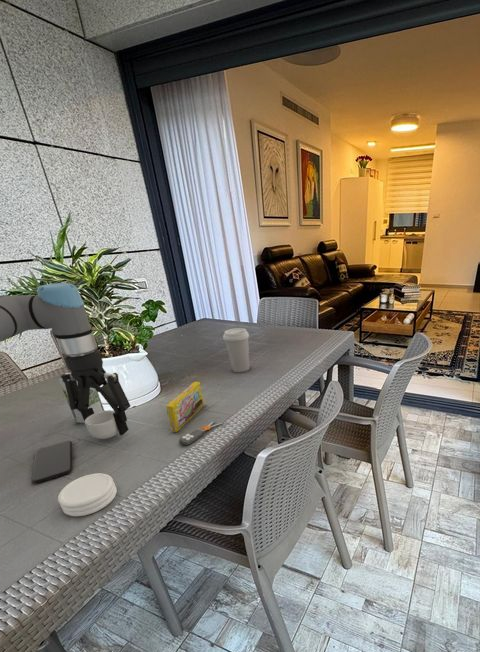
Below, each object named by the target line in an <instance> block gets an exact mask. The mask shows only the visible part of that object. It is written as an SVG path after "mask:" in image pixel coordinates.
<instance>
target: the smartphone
mask: <svg viewBox="0 0 480 652" xmlns="http://www.w3.org/2000/svg"><path fill="white" fill-rule="evenodd" d="M72 471H73V443H72V441H71V440H65V441H62V442H59V443H54V444H51V445H47V446H43V447H41V448H38V449H36V450H35V454H34V463H33V469H32V476H31V483H33V484H39V483H42V482H45V481H49V480H52V479H56V478H58V477H61V476H64V475H67V474H70V473H71V472H72Z"/></svg>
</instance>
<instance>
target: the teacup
mask: <svg viewBox="0 0 480 652" xmlns="http://www.w3.org/2000/svg"><path fill="white" fill-rule="evenodd" d="M114 412H115V411H114V410H113V409H107V410H104V411H100V412H97V413H94V414H92V415H90V416H89V417H87V418H86V419H85V423H84V424H85V426H86V428H87V430H88V432H89V434H90V435H91V436H92V437H93V438H95V439H99V440H107V439H110V438H113V437H115V436H116V435H117V434H119V431H118V428H117V425H116V422H115V419H114V416H113V413H114Z"/></svg>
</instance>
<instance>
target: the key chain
mask: <svg viewBox="0 0 480 652" xmlns="http://www.w3.org/2000/svg"><path fill="white" fill-rule="evenodd" d="M214 423H215V422H214V421H211V422H210V423H208V424H207V425H203V426H202V427H200V428H201V429H195V430H193V431H191V432H189V433H186V434H185V435H183V436H182V437H180V438H179V440H178V441H179V443H180V444H182V445H185V446H188V445H190V444H192V443H193V442H195V441H196V440H198V439H199V438H200V437H202V436H203V435H204V432H206V431H209V430H210V431H211V428H214V427H217V426H220V425H222V424H224V422H219V423H216V424H214Z"/></svg>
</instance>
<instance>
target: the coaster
mask: <svg viewBox="0 0 480 652" xmlns="http://www.w3.org/2000/svg"><path fill="white" fill-rule="evenodd" d="M117 489H118V488H117V486H116V483H115V482H114V478H113V477H112V476H110V475H109V474H107V473H100V472H99V473H97V472H96V473H91V474H90V473H89V474H86V475H83V476H81V477H78V478H76V479H75V480H72V481H70V482H69V483H67V485H65V486H64V487H63V488H62V489H61V490H60V492H59V493H58V496H57V502H58V504H59V505H60V507H61V509H62V511H63V513H64V514H66V515H67V516H70V517H84V516H89V515H91V514H94V513H96V512H99V511H100V510H102V509H104V508H106V507H107V506H108V505H109V504H111V502H113V500H114V499H115V497H116V496H117V492H118V491H117Z"/></svg>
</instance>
